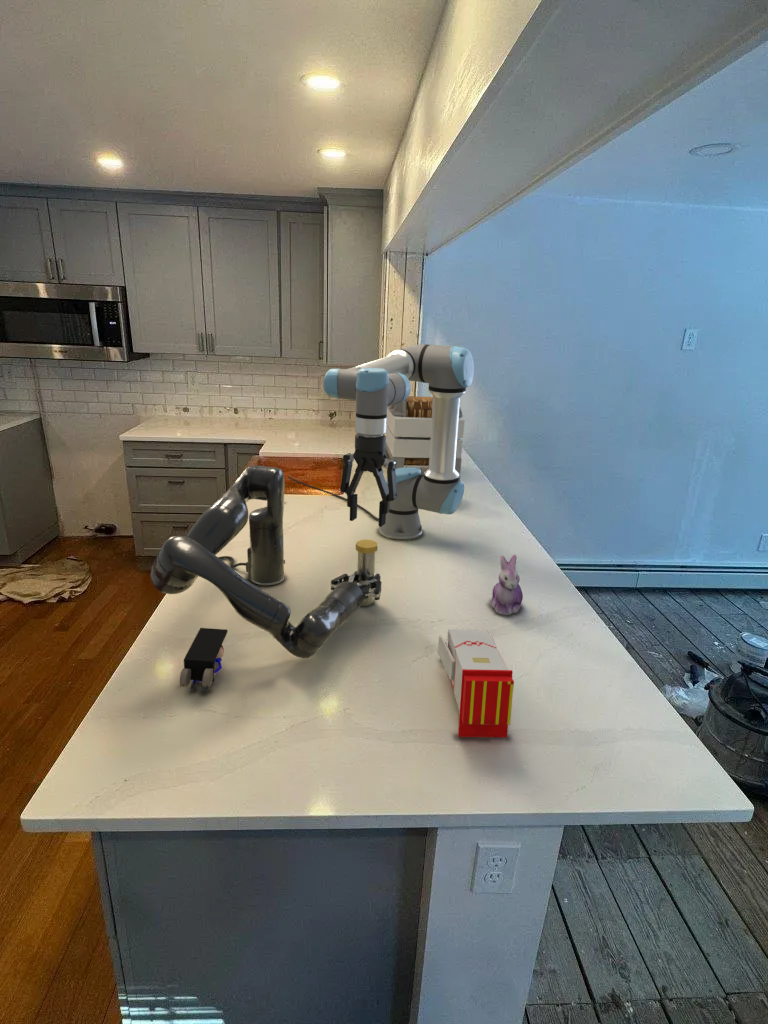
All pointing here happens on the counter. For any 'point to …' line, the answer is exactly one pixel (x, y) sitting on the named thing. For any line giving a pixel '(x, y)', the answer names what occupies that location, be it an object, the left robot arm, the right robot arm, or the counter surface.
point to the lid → (366, 546)
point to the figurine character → (203, 658)
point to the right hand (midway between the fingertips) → (367, 521)
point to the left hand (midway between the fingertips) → (369, 574)
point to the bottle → (365, 571)
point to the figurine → (507, 588)
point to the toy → (478, 682)
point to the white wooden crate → (414, 433)
